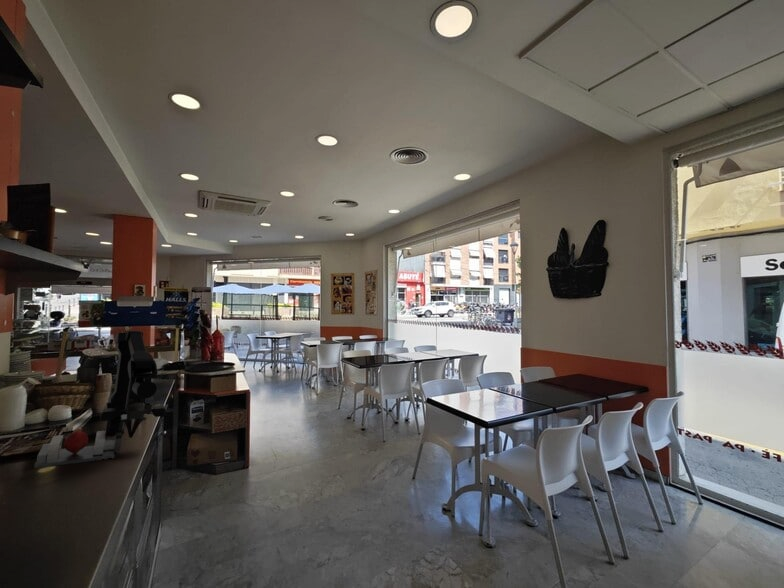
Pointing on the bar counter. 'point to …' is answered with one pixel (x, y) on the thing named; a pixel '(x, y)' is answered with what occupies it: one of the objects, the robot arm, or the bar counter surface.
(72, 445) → the onion
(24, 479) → the bar counter surface
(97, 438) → the sliding jaw
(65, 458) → the vise base
